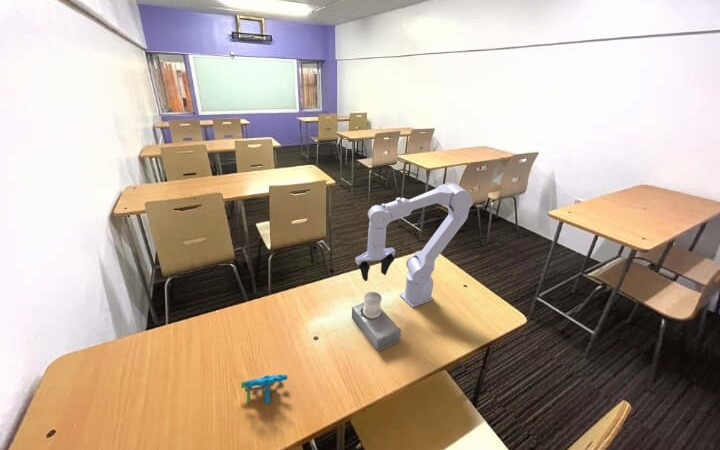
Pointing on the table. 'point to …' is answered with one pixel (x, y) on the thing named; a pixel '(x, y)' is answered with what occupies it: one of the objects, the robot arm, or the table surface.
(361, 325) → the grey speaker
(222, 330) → the table surface
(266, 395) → the blue legged part
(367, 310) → the white cabinet knob
